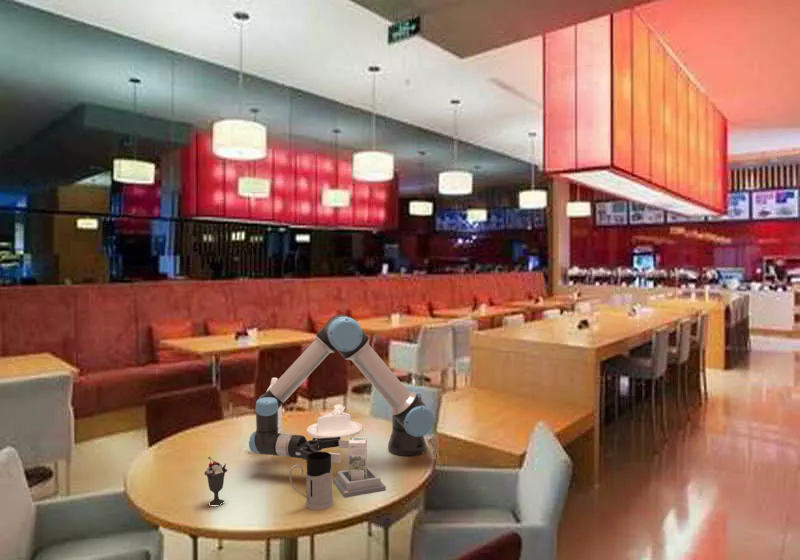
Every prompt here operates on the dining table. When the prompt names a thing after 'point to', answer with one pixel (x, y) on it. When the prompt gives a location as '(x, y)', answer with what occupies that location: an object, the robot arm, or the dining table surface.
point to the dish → (335, 425)
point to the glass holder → (317, 480)
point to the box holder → (358, 483)
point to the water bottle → (279, 408)
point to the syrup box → (357, 459)
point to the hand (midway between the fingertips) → (348, 451)
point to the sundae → (215, 480)
